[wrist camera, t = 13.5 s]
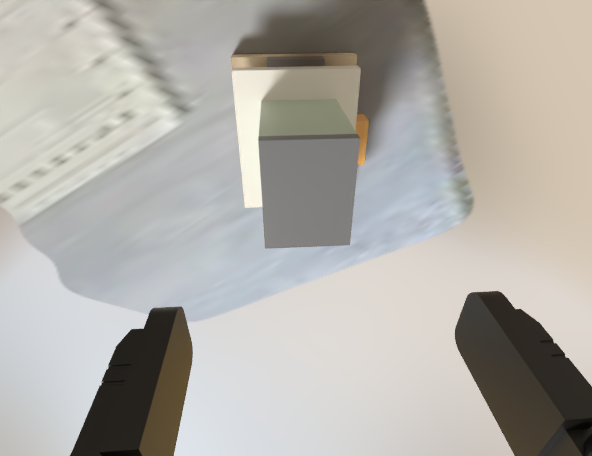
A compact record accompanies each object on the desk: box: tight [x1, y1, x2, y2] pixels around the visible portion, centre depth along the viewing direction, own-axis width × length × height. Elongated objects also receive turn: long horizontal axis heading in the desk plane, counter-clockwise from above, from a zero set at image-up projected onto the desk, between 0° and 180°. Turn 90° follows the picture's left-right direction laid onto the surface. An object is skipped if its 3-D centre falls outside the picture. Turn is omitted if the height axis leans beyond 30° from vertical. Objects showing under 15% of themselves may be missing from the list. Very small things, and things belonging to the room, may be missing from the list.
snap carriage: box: [232, 66, 369, 208], centre depth 24 cm, size 8×9×2 cm
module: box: [258, 99, 360, 248], centre depth 21 cm, size 5×6×7 cm
